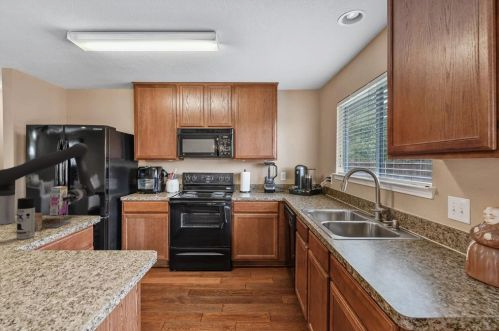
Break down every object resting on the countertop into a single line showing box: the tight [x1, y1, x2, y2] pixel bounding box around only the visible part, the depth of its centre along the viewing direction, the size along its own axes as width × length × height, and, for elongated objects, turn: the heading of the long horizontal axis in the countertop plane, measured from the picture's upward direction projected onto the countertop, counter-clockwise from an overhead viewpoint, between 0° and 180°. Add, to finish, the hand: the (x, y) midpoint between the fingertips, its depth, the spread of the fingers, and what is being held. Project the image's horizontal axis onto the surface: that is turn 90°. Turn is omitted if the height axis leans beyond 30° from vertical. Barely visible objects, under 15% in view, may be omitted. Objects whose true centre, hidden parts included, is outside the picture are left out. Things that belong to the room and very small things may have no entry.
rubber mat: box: [44, 221, 71, 229], centre depth 149 cm, size 6×13×1 cm, turn 8°
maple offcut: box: [35, 221, 43, 230], centre depth 139 cm, size 4×4×4 cm
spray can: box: [16, 196, 36, 240], centre depth 124 cm, size 7×7×20 cm
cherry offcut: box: [35, 212, 43, 223], centre depth 139 cm, size 4×4×4 cm
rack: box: [35, 217, 63, 233], centre depth 145 cm, size 9×22×4 cm, turn 8°
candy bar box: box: [49, 185, 68, 217], centre depth 149 cm, size 11×5×16 cm, turn 16°
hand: (57, 199), depth 148 cm, fingers closed on candy bar box, 5 cm apart
